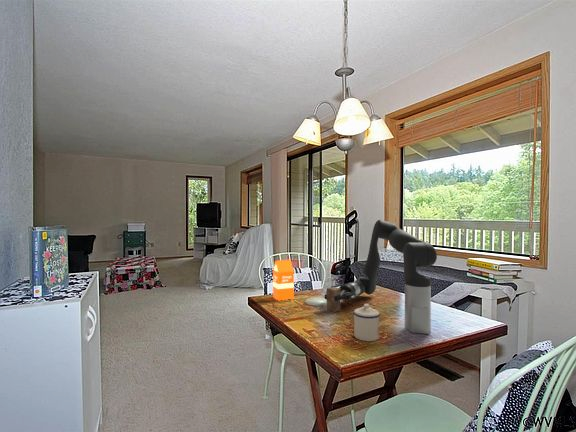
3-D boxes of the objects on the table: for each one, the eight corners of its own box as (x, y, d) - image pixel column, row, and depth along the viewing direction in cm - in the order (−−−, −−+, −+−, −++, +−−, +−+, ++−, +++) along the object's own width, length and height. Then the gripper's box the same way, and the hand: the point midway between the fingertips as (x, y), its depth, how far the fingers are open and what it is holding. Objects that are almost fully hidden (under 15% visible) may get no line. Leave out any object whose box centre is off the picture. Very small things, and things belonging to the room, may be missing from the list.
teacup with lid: (384, 340, 110) (384, 307, 109) (360, 343, 108) (360, 309, 108) (369, 328, 121) (369, 298, 121) (346, 330, 120) (346, 299, 119)
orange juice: (293, 299, 163) (293, 260, 163) (278, 301, 159) (277, 261, 159) (288, 295, 170) (288, 258, 170) (272, 297, 167) (272, 259, 166)
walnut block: (340, 309, 145) (340, 288, 145) (334, 312, 141) (334, 289, 141) (332, 307, 148) (332, 286, 148) (326, 310, 144) (326, 288, 144)
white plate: (326, 306, 150) (326, 304, 150) (303, 305, 152) (303, 302, 152) (328, 300, 160) (328, 297, 160) (307, 299, 163) (307, 296, 163)
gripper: (337, 281, 160) (317, 287, 147) (362, 285, 150) (343, 292, 138) (337, 296, 160) (317, 303, 147) (362, 301, 150) (343, 309, 138)
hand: (330, 298), depth 142 cm, fingers closed on walnut block, 4 cm apart
